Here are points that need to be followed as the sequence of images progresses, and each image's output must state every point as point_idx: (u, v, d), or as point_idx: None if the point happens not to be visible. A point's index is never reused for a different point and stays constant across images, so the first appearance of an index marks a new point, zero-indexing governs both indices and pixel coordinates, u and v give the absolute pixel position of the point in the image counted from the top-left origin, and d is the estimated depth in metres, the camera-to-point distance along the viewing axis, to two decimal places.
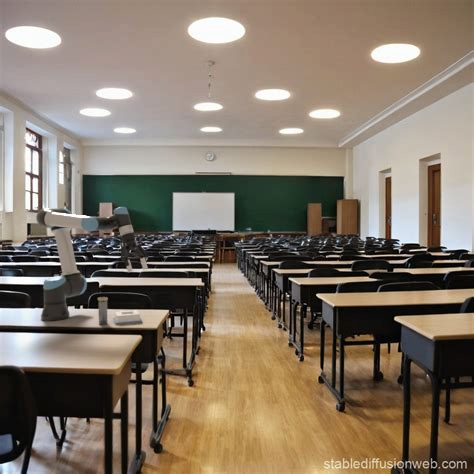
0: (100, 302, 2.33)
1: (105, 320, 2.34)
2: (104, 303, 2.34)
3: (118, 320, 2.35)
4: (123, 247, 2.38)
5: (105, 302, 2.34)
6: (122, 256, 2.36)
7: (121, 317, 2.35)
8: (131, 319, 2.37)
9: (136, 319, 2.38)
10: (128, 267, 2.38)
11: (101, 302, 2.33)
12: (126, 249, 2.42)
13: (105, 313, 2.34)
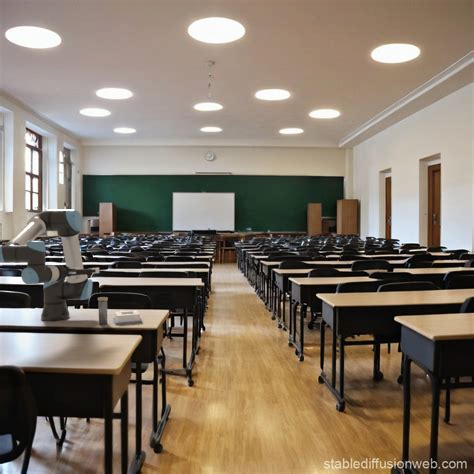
0: (100, 302, 2.33)
1: (105, 320, 2.34)
2: (104, 303, 2.34)
3: (118, 320, 2.35)
4: None
5: (105, 302, 2.34)
6: None
7: (121, 317, 2.35)
8: (131, 319, 2.37)
9: (136, 319, 2.38)
10: None
11: (101, 302, 2.33)
12: None
13: (105, 313, 2.34)
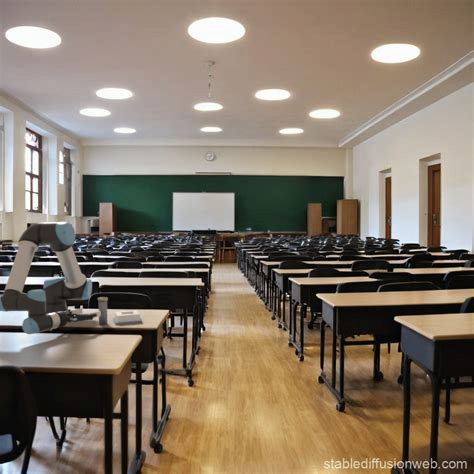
0: (100, 302, 2.33)
1: (105, 320, 2.34)
2: (104, 303, 2.34)
3: (118, 320, 2.35)
4: None
5: (105, 302, 2.34)
6: None
7: (121, 317, 2.35)
8: (131, 319, 2.37)
9: (136, 319, 2.38)
10: None
11: (101, 302, 2.33)
12: None
13: (105, 313, 2.34)
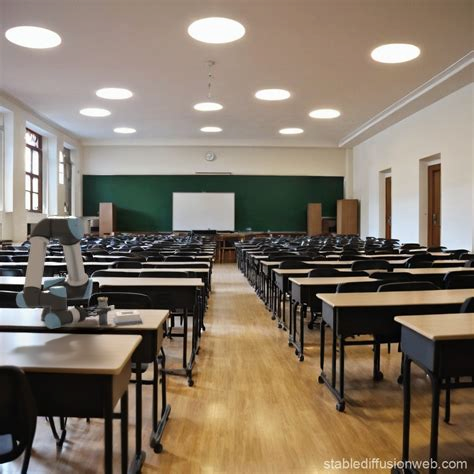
0: (100, 302, 2.33)
1: (105, 320, 2.34)
2: (104, 303, 2.34)
3: (118, 320, 2.35)
4: None
5: (105, 302, 2.34)
6: None
7: (121, 317, 2.35)
8: (131, 319, 2.37)
9: (136, 319, 2.38)
10: None
11: (101, 302, 2.33)
12: None
13: None
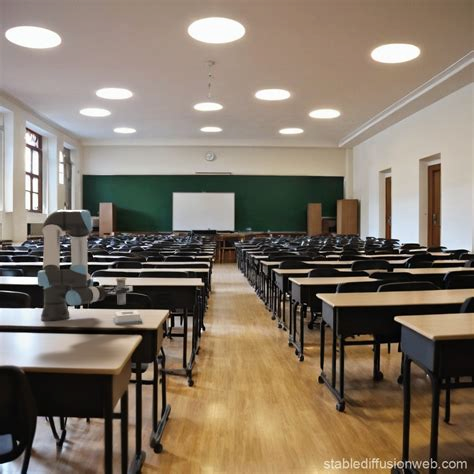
0: (119, 282, 2.37)
1: (123, 300, 2.38)
2: (122, 283, 2.37)
3: (118, 320, 2.35)
4: None
5: (123, 282, 2.38)
6: None
7: (121, 317, 2.35)
8: (131, 319, 2.37)
9: (136, 319, 2.38)
10: None
11: (120, 282, 2.37)
12: None
13: None
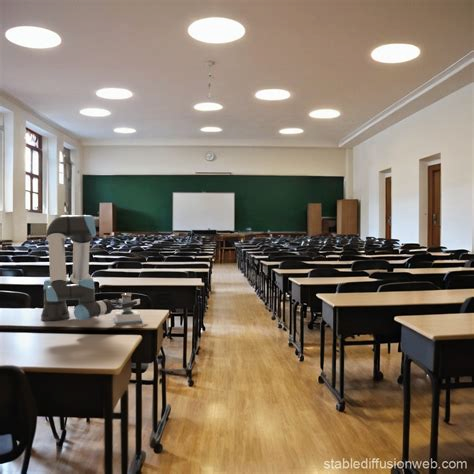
0: (124, 297, 2.40)
1: None
2: (128, 298, 2.40)
3: (118, 320, 2.35)
4: None
5: (129, 297, 2.41)
6: None
7: (121, 317, 2.35)
8: (131, 319, 2.37)
9: (136, 319, 2.38)
10: None
11: (125, 297, 2.40)
12: None
13: (129, 308, 2.41)
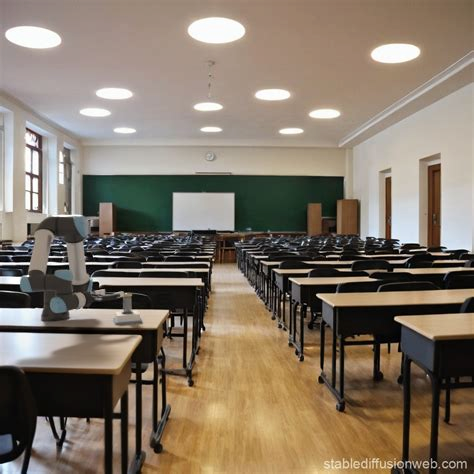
0: (125, 298, 2.39)
1: None
2: (129, 299, 2.40)
3: (118, 320, 2.35)
4: None
5: (129, 298, 2.40)
6: None
7: (121, 317, 2.35)
8: (131, 319, 2.37)
9: (136, 319, 2.38)
10: None
11: (126, 298, 2.39)
12: None
13: (129, 309, 2.40)
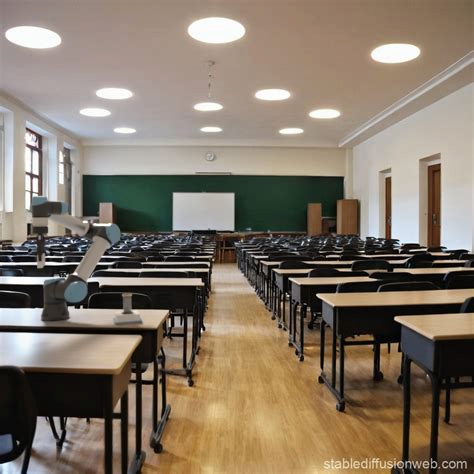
0: (125, 298, 2.39)
1: None
2: (129, 299, 2.40)
3: (118, 320, 2.35)
4: None
5: (129, 298, 2.40)
6: None
7: (121, 317, 2.35)
8: (131, 319, 2.37)
9: (136, 319, 2.38)
10: None
11: (126, 298, 2.39)
12: None
13: (129, 309, 2.40)
